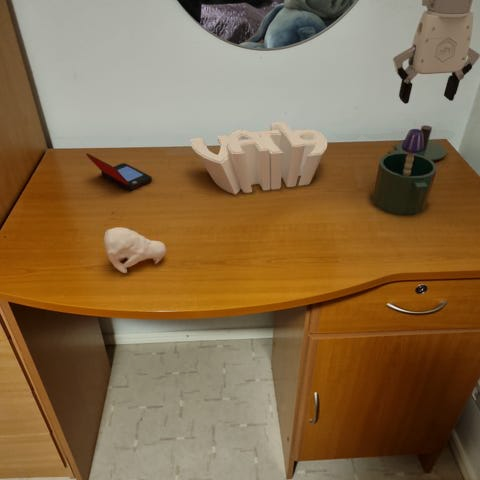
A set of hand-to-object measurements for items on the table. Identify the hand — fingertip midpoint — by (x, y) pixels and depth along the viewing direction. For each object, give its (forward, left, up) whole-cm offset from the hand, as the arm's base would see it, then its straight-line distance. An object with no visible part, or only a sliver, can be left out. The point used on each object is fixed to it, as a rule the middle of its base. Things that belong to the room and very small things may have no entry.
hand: (426, 99), depth 100 cm
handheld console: (+67, -19, -24) cm, 74 cm away
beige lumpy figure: (+62, +17, -24) cm, 69 cm away
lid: (-15, -25, -23) cm, 37 cm away
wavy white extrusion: (+31, -17, -24) cm, 43 cm away
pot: (0, 0, -24) cm, 24 cm away
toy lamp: (0, 0, -23) cm, 23 cm away
